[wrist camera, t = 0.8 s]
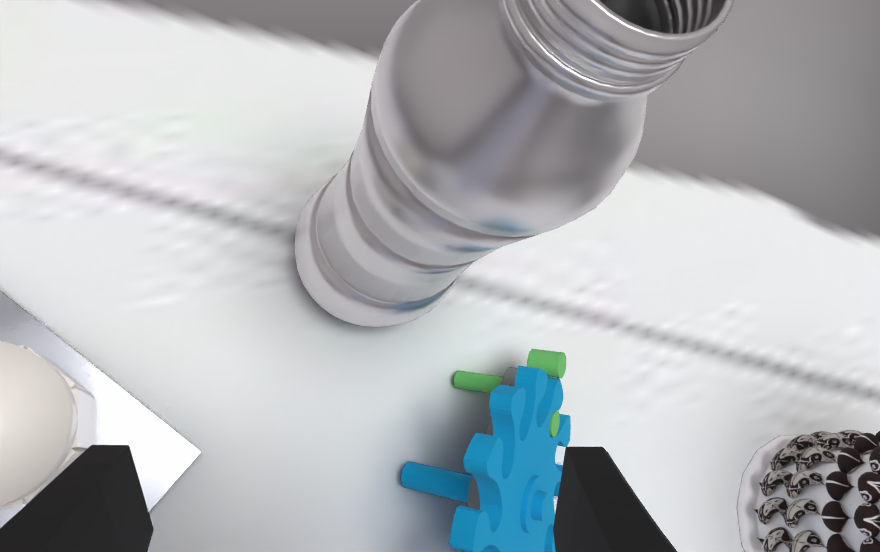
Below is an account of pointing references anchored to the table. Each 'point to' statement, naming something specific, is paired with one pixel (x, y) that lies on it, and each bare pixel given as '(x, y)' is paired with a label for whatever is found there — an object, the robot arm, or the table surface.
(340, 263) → the plastic bottle
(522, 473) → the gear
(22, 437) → the knob
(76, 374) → the flat rectangular plate
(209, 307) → the table surface
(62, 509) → the robot arm
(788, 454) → the decorative candle
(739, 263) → the table surface
